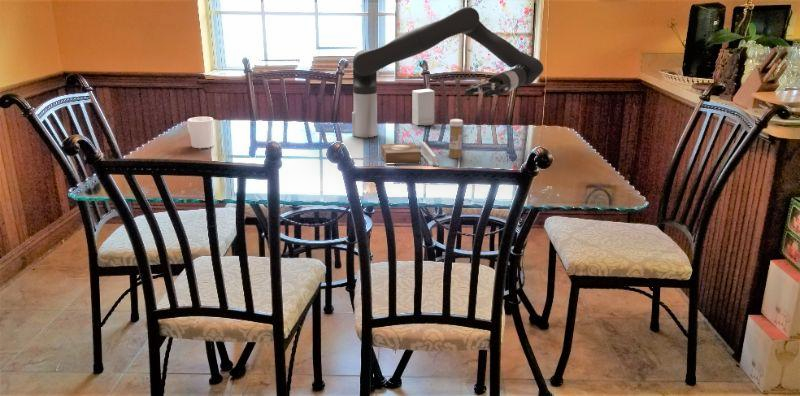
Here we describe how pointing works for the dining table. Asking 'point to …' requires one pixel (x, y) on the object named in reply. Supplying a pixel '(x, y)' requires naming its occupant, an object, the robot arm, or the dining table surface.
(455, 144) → the sprinkles bottle
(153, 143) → the dining table surface
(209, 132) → the mug
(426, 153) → the divider
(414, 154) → the walnut block
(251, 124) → the dining table surface
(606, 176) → the dining table surface
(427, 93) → the skincare box
